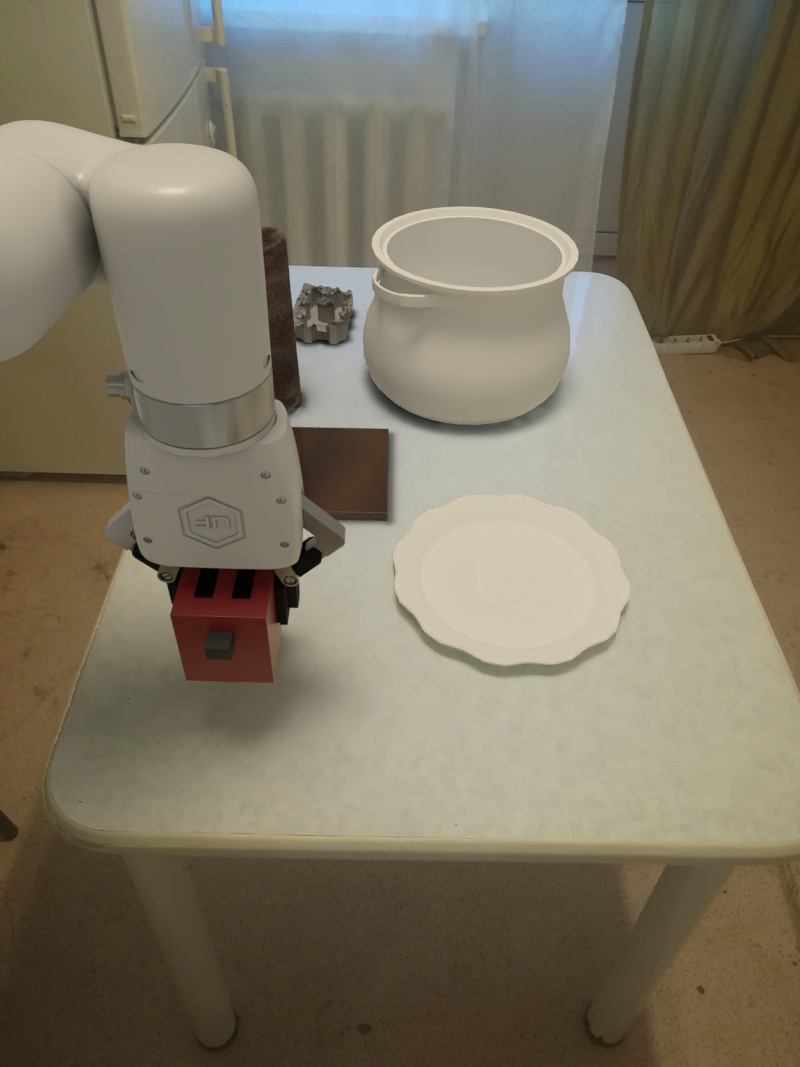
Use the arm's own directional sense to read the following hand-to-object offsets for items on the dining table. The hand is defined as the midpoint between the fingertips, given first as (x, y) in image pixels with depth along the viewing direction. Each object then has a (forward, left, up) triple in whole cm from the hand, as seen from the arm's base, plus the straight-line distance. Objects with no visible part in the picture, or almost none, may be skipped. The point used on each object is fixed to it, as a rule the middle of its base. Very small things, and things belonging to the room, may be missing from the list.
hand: (238, 606), depth 54 cm
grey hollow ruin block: (+2, +58, -9) cm, 59 cm away
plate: (+22, +11, -9) cm, 26 cm away
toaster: (0, 0, -2) cm, 2 cm away
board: (+3, +26, -9) cm, 27 cm away
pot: (+20, +45, -9) cm, 50 cm away
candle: (-3, +39, -9) cm, 40 cm away
